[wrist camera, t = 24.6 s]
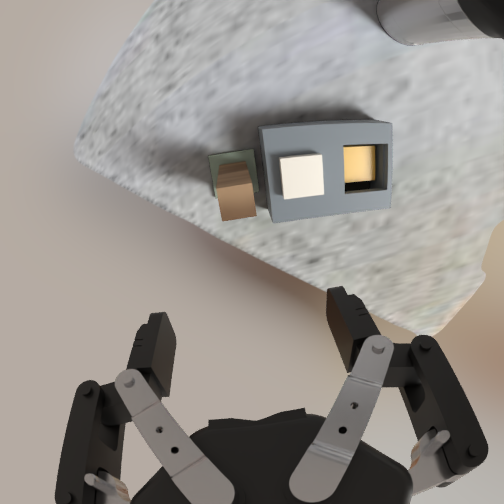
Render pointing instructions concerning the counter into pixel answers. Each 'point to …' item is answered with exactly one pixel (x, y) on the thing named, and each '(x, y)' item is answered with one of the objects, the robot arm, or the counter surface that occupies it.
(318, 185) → the on button
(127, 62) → the counter surface
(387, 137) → the switch panel
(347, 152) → the plunger
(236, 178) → the tall wooden block
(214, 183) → the rubber mat
